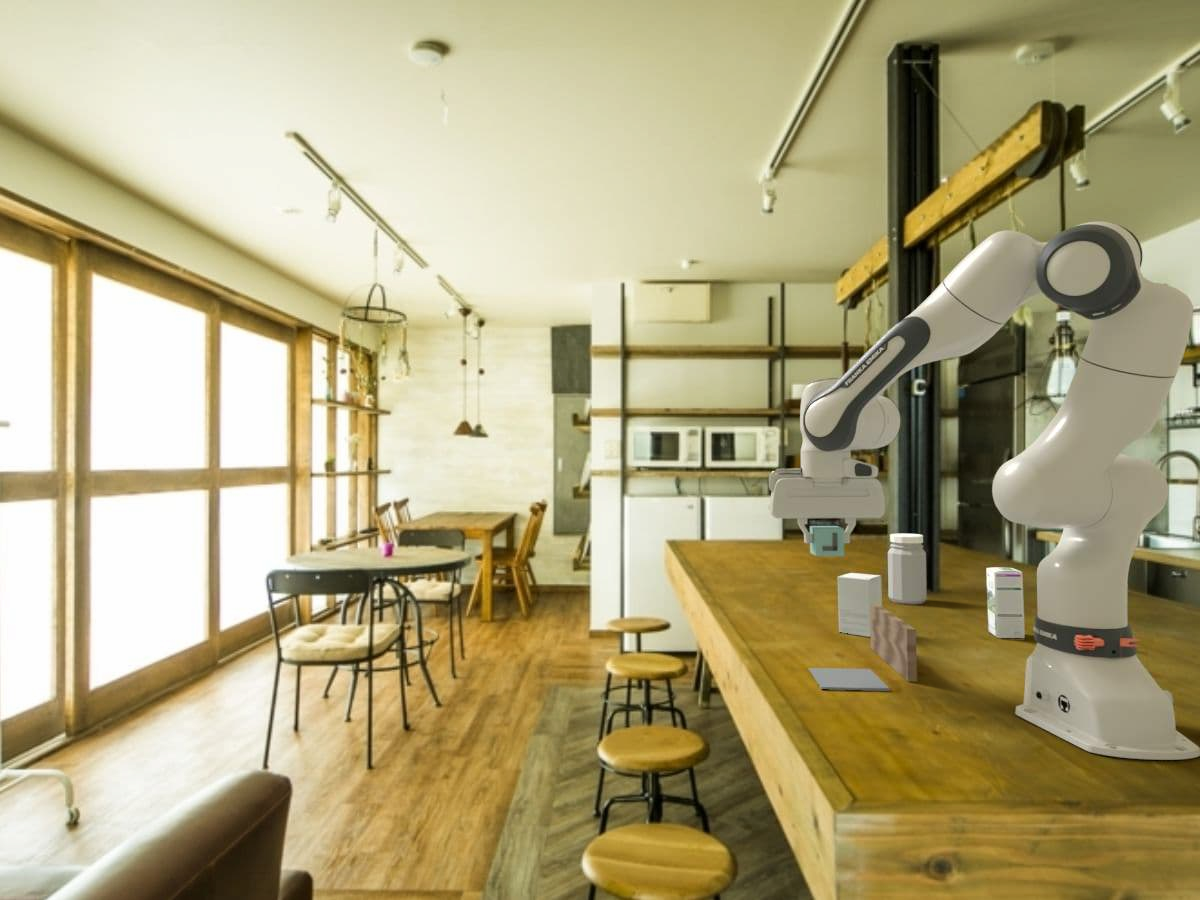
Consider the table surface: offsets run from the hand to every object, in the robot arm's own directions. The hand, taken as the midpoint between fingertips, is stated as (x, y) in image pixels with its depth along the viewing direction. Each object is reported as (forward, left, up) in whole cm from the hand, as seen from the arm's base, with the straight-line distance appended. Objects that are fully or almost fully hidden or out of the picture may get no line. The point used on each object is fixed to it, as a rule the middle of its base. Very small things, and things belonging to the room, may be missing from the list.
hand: (826, 542), depth 131 cm
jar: (+65, -36, -23) cm, 78 cm away
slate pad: (-7, -2, -23) cm, 24 cm away
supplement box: (+29, -14, -23) cm, 40 cm away
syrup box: (+27, -44, -23) cm, 56 cm away
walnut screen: (+4, -13, -23) cm, 27 cm away
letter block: (0, 0, -2) cm, 2 cm away
